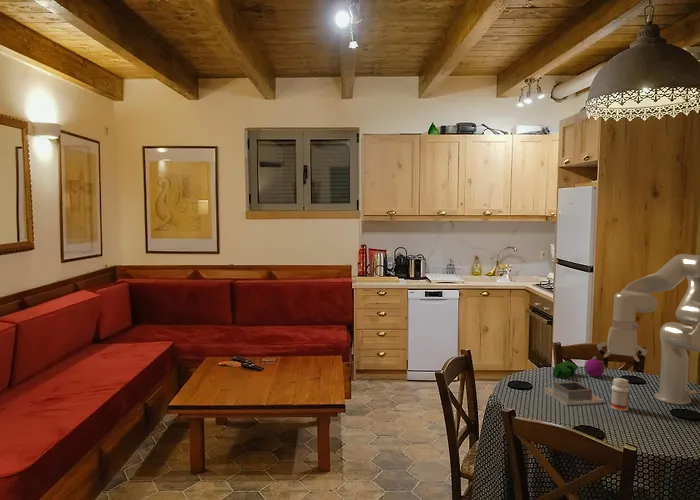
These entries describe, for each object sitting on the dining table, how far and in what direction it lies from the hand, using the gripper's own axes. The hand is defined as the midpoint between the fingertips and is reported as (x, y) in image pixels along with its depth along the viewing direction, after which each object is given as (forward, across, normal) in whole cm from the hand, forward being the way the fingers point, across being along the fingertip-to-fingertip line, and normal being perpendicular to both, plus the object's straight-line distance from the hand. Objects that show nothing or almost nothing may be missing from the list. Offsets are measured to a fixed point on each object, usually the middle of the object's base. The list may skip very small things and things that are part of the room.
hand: (620, 369), depth 203 cm
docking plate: (+16, +16, -6) cm, 24 cm away
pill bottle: (+16, -1, -1) cm, 16 cm away
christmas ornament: (+15, +8, -40) cm, 43 cm away
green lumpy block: (+16, +20, -34) cm, 43 cm away
